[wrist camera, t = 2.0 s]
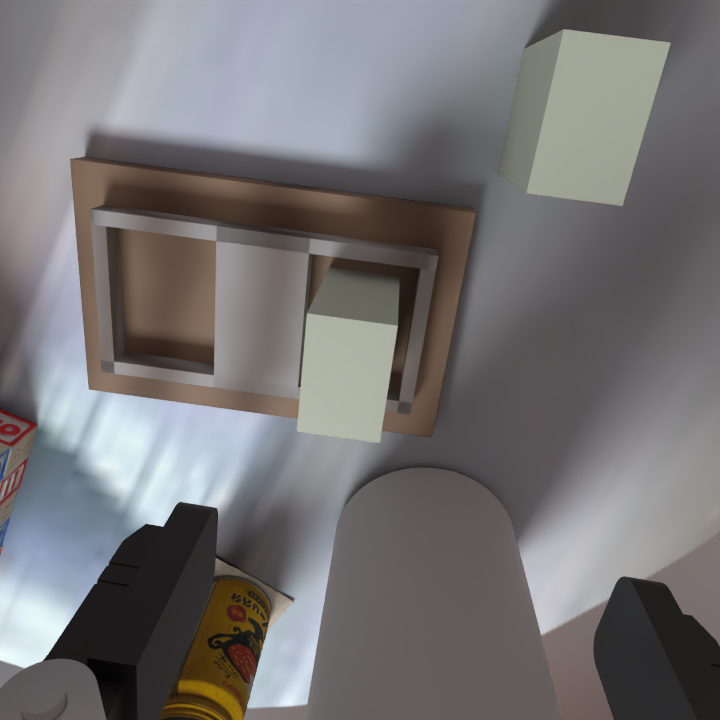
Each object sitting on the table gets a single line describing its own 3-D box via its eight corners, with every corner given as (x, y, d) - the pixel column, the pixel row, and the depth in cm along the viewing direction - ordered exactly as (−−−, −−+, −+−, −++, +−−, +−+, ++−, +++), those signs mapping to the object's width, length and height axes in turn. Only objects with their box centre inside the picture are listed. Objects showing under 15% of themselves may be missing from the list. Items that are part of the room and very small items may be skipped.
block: (319, 363, 35) (296, 431, 28) (329, 267, 33) (306, 313, 25) (385, 372, 35) (379, 442, 28) (399, 276, 32) (397, 325, 25)
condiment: (294, 599, 45) (258, 758, 34) (240, 659, 48) (191, 822, 37) (213, 553, 44) (148, 702, 33) (163, 617, 47) (88, 773, 36)
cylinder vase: (548, 512, 40) (740, 1054, 17) (451, 624, 45) (499, 1165, 22) (391, 431, 38) (369, 911, 15) (307, 556, 43) (196, 1065, 20)
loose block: (498, 173, 31) (526, 193, 24) (524, 49, 29) (563, 29, 22) (572, 182, 31) (622, 205, 24) (603, 59, 29) (670, 42, 22)
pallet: (100, 379, 38) (76, 400, 36) (84, 157, 33) (54, 161, 30) (430, 425, 38) (432, 450, 35) (472, 208, 32) (479, 217, 29)
